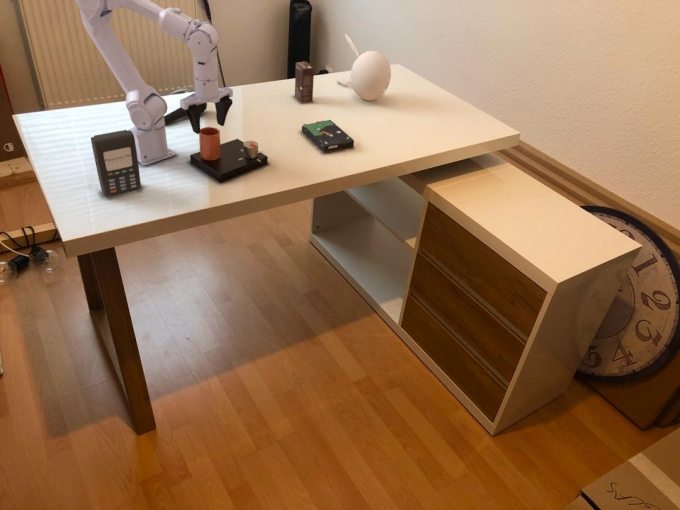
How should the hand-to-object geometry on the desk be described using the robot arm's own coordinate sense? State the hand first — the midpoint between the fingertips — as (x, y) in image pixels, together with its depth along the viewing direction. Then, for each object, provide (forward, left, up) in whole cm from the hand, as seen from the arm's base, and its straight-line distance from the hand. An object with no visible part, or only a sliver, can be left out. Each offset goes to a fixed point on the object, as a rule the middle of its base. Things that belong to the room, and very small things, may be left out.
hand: (208, 128), depth 143 cm
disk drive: (+36, -9, -11) cm, 39 cm away
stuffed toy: (+71, +8, -11) cm, 72 cm away
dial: (+9, -7, -8) cm, 13 cm away
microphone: (+9, +28, -11) cm, 31 cm away
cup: (0, 0, -8) cm, 8 cm away
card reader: (-25, +2, -11) cm, 27 cm away
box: (+51, +17, -11) cm, 55 cm away
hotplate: (+4, -3, -10) cm, 12 cm away
